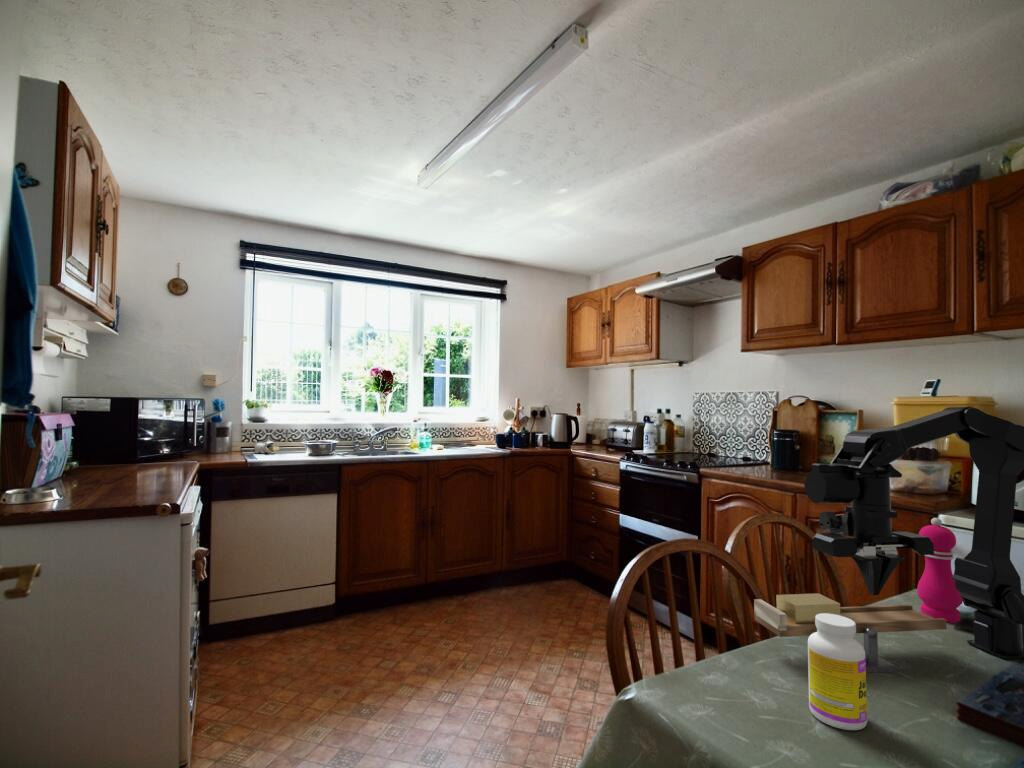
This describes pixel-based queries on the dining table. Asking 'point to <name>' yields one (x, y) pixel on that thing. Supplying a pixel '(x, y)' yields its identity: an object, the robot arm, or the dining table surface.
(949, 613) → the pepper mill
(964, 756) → the dining table surface
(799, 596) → the brass rider
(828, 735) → the dining table surface
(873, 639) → the stand
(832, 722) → the supplement bottle
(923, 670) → the dining table surface
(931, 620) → the balance beam
